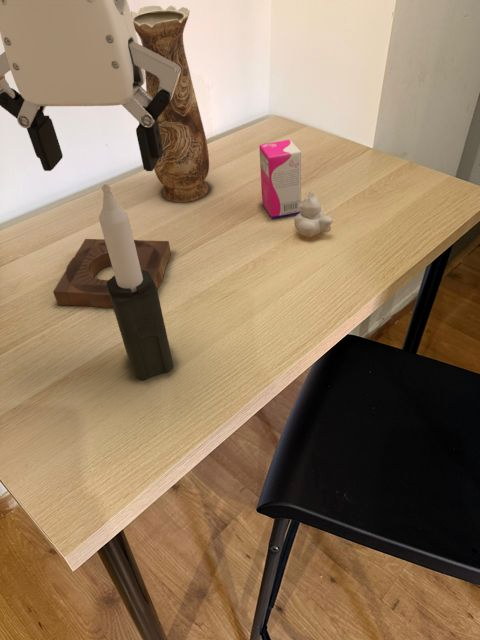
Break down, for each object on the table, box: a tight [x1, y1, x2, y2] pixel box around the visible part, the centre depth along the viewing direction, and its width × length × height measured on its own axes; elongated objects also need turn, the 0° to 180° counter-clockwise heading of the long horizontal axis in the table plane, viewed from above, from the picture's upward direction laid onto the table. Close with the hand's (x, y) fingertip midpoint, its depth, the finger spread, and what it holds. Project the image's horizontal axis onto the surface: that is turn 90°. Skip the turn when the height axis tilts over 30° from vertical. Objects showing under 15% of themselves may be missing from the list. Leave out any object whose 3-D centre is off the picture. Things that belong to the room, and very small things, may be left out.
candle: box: [98, 183, 174, 381], centre depth 60 cm, size 5×5×25 cm
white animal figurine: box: [293, 189, 334, 238], centre depth 87 cm, size 5×7×8 cm
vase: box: [130, 5, 210, 203], centre depth 92 cm, size 10×11×30 cm
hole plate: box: [52, 238, 172, 309], centre depth 82 cm, size 14×14×2 cm
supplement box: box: [258, 139, 302, 221], centre depth 92 cm, size 6×6×12 cm
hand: (102, 164), depth 50 cm, fingers open, 9 cm apart
